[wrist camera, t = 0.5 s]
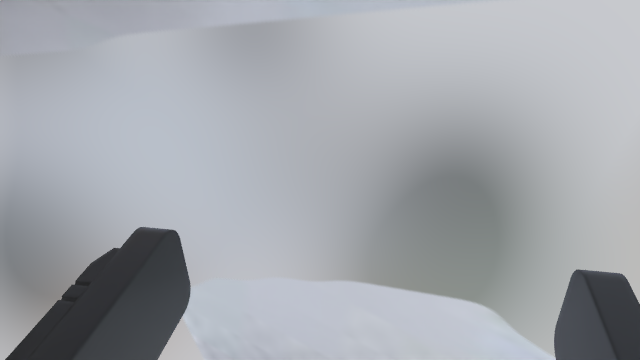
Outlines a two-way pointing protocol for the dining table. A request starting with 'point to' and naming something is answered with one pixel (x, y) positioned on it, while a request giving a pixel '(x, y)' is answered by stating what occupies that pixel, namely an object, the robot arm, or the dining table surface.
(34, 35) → the dining table surface
